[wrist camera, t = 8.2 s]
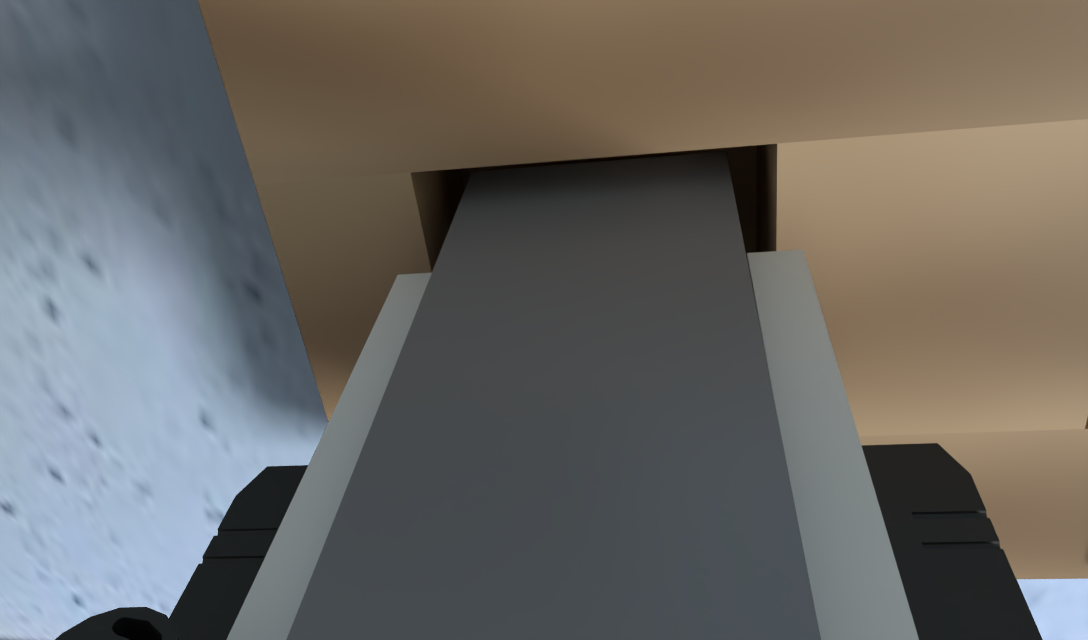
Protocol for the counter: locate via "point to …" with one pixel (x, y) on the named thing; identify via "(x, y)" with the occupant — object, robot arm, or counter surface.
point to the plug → (575, 429)
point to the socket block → (757, 177)
